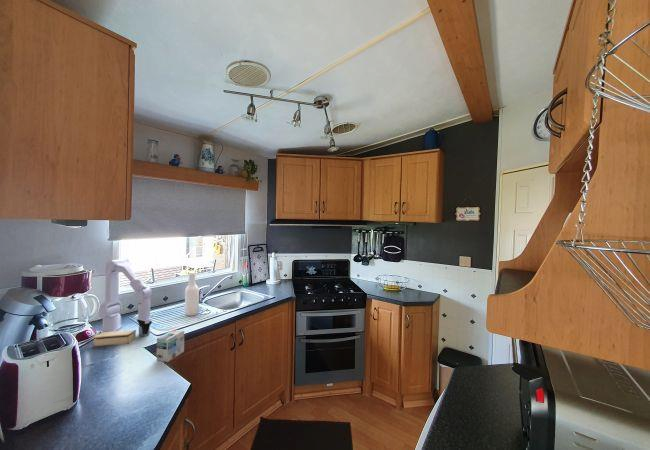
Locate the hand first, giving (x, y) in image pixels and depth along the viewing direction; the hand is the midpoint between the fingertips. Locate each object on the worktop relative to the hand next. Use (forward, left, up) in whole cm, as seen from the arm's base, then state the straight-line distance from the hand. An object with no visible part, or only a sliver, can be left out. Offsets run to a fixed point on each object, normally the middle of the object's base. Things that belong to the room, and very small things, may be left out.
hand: (144, 332), depth 147 cm
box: (+6, -12, -1) cm, 13 cm away
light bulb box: (+29, +23, -2) cm, 37 cm away
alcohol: (-31, +17, -2) cm, 36 cm away
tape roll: (0, 0, -1) cm, 1 cm away
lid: (+6, -12, +3) cm, 13 cm away
